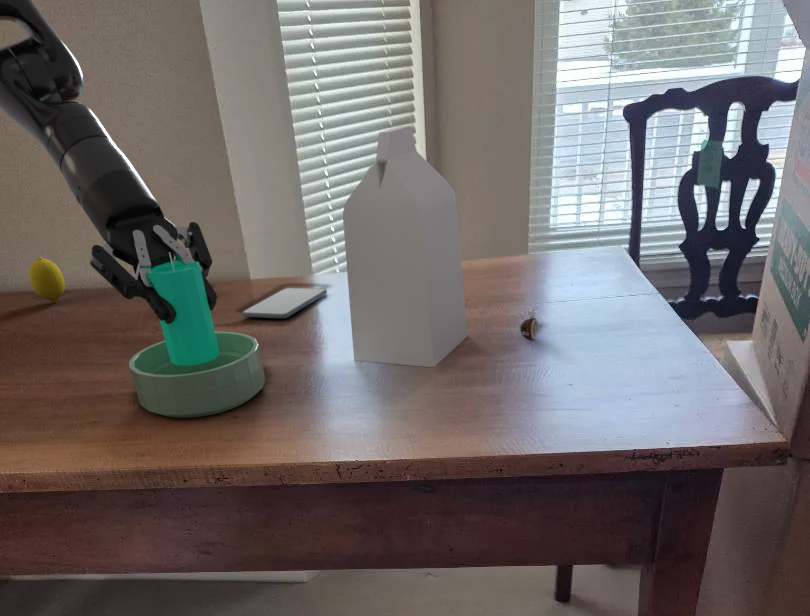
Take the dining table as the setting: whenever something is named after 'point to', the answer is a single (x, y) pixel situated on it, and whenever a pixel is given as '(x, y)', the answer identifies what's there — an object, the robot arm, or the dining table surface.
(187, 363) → the candle
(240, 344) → the bowl
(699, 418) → the dining table surface
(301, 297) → the smartphone
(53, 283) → the lemon
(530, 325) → the chocolate
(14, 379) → the dining table surface
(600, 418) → the dining table surface
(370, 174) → the milk
